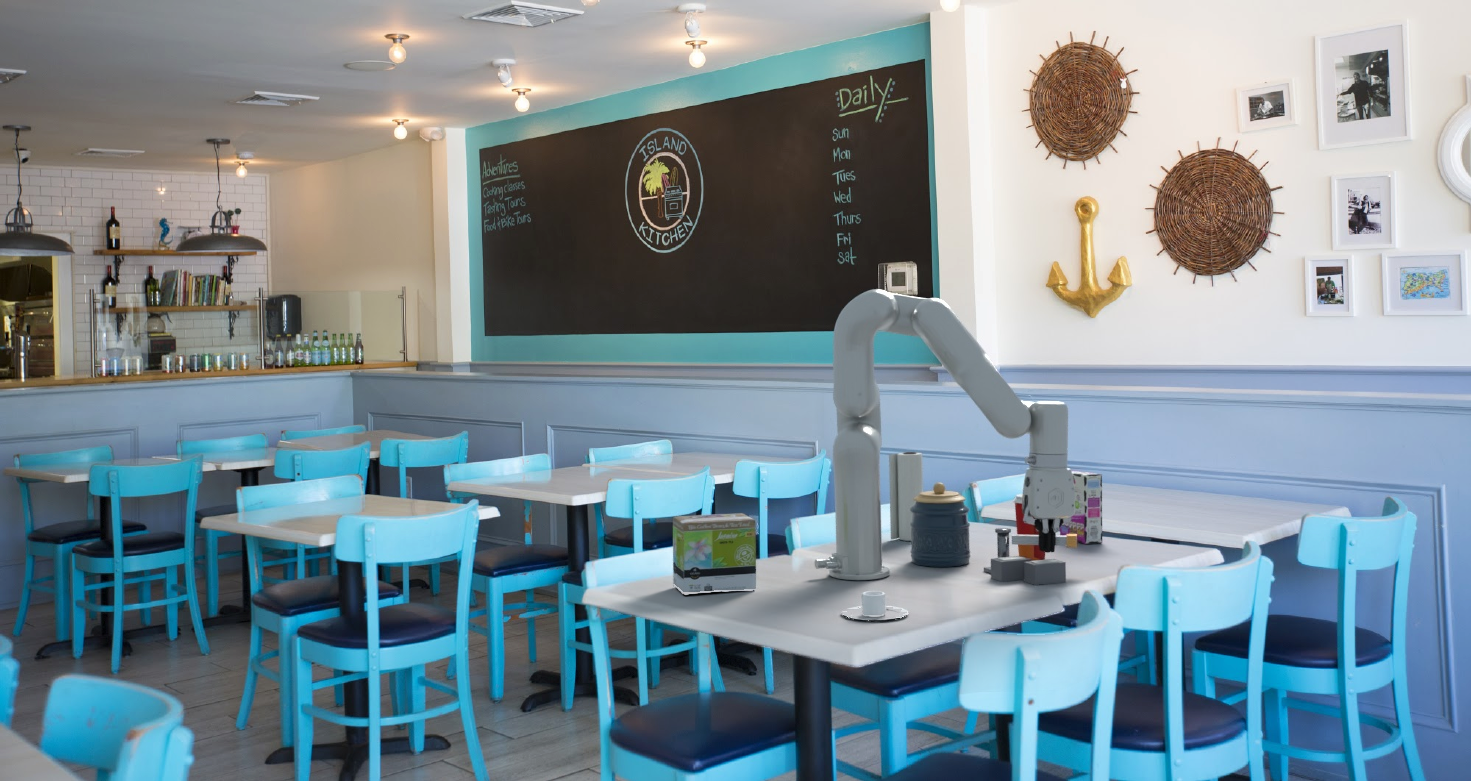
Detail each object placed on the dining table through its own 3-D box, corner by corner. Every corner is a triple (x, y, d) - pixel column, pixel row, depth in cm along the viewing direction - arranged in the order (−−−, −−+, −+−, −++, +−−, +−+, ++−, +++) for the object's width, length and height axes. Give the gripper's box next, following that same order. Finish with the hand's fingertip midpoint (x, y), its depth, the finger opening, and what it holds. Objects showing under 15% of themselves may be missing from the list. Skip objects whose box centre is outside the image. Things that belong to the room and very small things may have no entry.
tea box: (684, 597, 234) (682, 522, 233) (673, 587, 243) (670, 515, 243) (757, 591, 238) (756, 517, 237) (744, 582, 247) (742, 510, 247)
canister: (899, 561, 266) (897, 482, 265) (946, 555, 272) (944, 477, 271) (934, 570, 254) (933, 487, 253) (982, 563, 260) (981, 483, 259)
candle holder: (904, 608, 220) (904, 585, 220) (912, 624, 208) (911, 599, 208) (839, 610, 221) (839, 586, 221) (843, 625, 209) (842, 601, 209)
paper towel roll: (927, 538, 295) (926, 451, 294) (917, 542, 289) (916, 454, 289) (900, 536, 298) (899, 451, 298) (890, 540, 293) (888, 453, 292)
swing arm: (1011, 546, 248) (1011, 534, 248) (1012, 544, 250) (1012, 532, 250) (1076, 547, 244) (1076, 535, 244) (1077, 545, 247) (1076, 533, 246)
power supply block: (1035, 585, 236) (1035, 564, 236) (1024, 581, 240) (1024, 560, 240) (1065, 582, 238) (1065, 561, 238) (1054, 578, 242) (1053, 557, 242)
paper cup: (1046, 555, 268) (1046, 492, 268) (1052, 561, 261) (1051, 497, 260) (1011, 555, 269) (1010, 493, 268) (1016, 561, 261) (1015, 497, 261)
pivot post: (999, 576, 246) (998, 532, 246) (983, 571, 252) (982, 528, 251) (1024, 573, 248) (1023, 530, 248) (1008, 568, 254) (1007, 526, 253)
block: (1001, 581, 240) (1001, 560, 240) (991, 578, 244) (990, 557, 244) (1031, 578, 243) (1031, 558, 243) (1020, 575, 247) (1020, 554, 246)
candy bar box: (1104, 543, 281) (1103, 473, 281) (1085, 544, 280) (1084, 475, 279) (1076, 536, 292) (1076, 469, 291) (1059, 537, 291) (1058, 470, 290)
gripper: (1026, 464, 237) (1025, 556, 238) (1090, 462, 242) (1089, 552, 243) (1006, 461, 244) (1005, 550, 245) (1068, 459, 249) (1067, 546, 250)
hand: (1046, 551), depth 244 cm, fingers closed
